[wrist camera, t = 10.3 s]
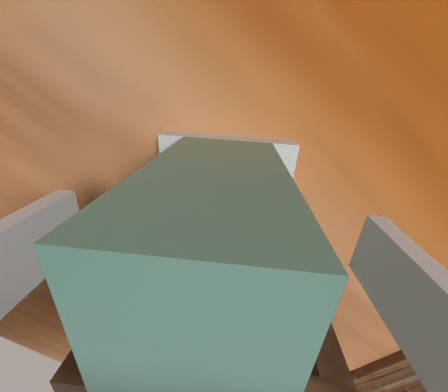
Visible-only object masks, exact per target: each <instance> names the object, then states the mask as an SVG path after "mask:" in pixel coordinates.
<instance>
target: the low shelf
mask: <svg viewBox="0 0 448 392" xmlns="http://www.w3.org/2000/svg"><path fill="white" fill-rule="evenodd" d="M50 384H51V385H52V387H53V390H54V391H55V392H87V390H86V387H85V384H84V382H83V379H82V376H81V374H80V371H79V368H78V365H77V363H76V360H75V357H74V354H73V352H72V350H71V351H70V352H69V354H68V355H67V357H66V358H65V360H64V361H63V363H62V364H61V366H60V367H59V369H58V370H57V372H56V373H55V375H54V376H53V378H52V379H51V381H50ZM304 392H357V389H356V387H355V384H354V382H353V379H352V376H351V374H350V371H349V368H348V366H347V363H346V361H345V358H344V355H343V353H342V350H341V347H340V345H339V342H338V340H337V337H336V334H335V332H334V329H333V326H332V324H331V323H330V326H329V328H328V331H327V334H326V336H325V339H324V341H323V344H322V346H321V349H320V352H319V354H318V357H317V359H316V362H315V364H314V367H313V370H312V372H311V375H310V377H309V380H308V382H307V385H306V387H305V390H304Z"/></svg>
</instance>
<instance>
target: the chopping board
mask: <svg viewBox="0 0 448 392" xmlns="http://www.w3.org/2000/svg"><path fill="white" fill-rule="evenodd" d="M350 374H351V376H352V379H353V382H354V384H355V387H356V389H357V392H427V391H426V390H425V388H424V386H423V385H422V383H421V382H420V380H419V378H418V377H417V375H416V373H415V372H414V370H413V368H412V367H411V365H410V364H409V362H408V360H407V359H406V357H405V355H404V354H403V352H402V351H401V350H400V351H398V352H395V353H393V354H391V355H388V356H386V357H384V358H381V359H379V360H377V361H374V362H372V363H369V364H367V365H365V366H362V367H360V368H358V369H355V370H353V371H350Z"/></svg>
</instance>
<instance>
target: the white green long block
mask: <svg viewBox="0 0 448 392" xmlns="http://www.w3.org/2000/svg"><path fill="white" fill-rule="evenodd" d="M158 143H159V154H158V155H157V156H156V157H154V158H153V159H151V160H150V161H149V162H147V163H146V164H144V165H143V166H141V167H140V168H139V169H137V170H136V171H134V172H133V173H132V174H130V175H129V176H127V177H126V178H125V179H123V180H122V181H120V182H119V183H117V184H116V185H115V186H113V187H112V188H110V189H109V190H108V191H106V192H105V193H103V194H102V195H101V196H99V197H98V198H96V199H95V200H93V201H92V202H91V203H89V204H88V205H86V206H85V207H84V208H82V209H81V210H79V211H78V212H77V213H75V214H74V215H72V216H71V217H69V218H68V219H67V220H65V221H64V222H62V223H61V224H60V225H58V226H57V227H55V228H54V229H53V230H51V231H50V232H48V233H47V234H45V235H44V236H43V237H41V238H40V239H38V240H37V241H36V242H34V243H33V246H34V248H35V251H36V254H37V257H38V259H39V262H40V265H41V267H42V270H43V273H44V276H45V278H46V281H47V284H48V286H49V289H50V292H51V295H52V297H53V300H54V303H55V306H56V308H57V311H58V314H59V316H60V319H61V322H62V325H63V327H64V330H65V333H66V335H67V338H68V341H69V344H70V346H71V349H72V352H73V354H74V357H75V360H76V363H77V365H78V368H79V371H80V374H81V376H82V379H83V382H84V384H85V387H86V390H87V392H304V390H305V387H306V385H307V382H308V380H309V377H310V375H311V372H312V370H313V367H314V364H315V362H316V359H317V357H318V354H319V352H320V349H321V346H322V344H323V341H324V339H325V336H326V334H327V331H328V328H329V326H330V323H331V321H332V318H333V316H334V313H335V311H336V308H337V305H338V303H339V300H340V298H341V295H342V293H343V290H344V287H345V285H346V282H347V280H348V277H349V276H348V274H347V272H346V270H345V269H344V267H343V265H342V263H341V262H340V260H339V258H338V256H337V255H336V253H335V251H334V250H333V248H332V246H331V244H330V243H329V241H328V239H327V237H326V236H325V234H324V232H323V230H322V229H321V227H320V225H319V223H318V222H317V220H316V218H315V216H314V215H313V213H312V211H311V209H310V208H309V206H308V204H307V203H306V201H305V199H304V197H303V196H302V194H301V192H300V190H299V189H298V187H297V185H296V183H295V182H294V180H293V176H294V171H295V166H296V161H297V156H298V151H299V146H300V145H299V144H298V143H297V142H296V141H294V140H293V139H282V138H268V137H255V136H242V135H228V134H215V133H202V132H188V131H175V130H166V131H164V132H162V133H160V134H158Z"/></svg>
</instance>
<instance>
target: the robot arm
mask: <svg viewBox="0 0 448 392" xmlns="http://www.w3.org/2000/svg"><path fill="white" fill-rule="evenodd" d="M78 211H79V207H78V203H77V199H76V195H75V191H73V190H61V189H58V190H56V191H54V192H52V193H50V194H48V195H46V196H44V197H42V198H40V199H38V200H37V201H35V202H33V203H31V204H29V205H27V206H25V207H23V208H21V209H19V210H17V211H15V212H13V213H11V214H9V215H7V216H5V217H3V218H2V219H0V320H1V319H2V318H3V317H4V316H5V315H6V314H7V313H8V312H9V311H11V310H12V309H13V308H14V307H15V306H16V305H17V304H18V303H19V302H20V301H21V300H22V299H23V298H25V297H26V296H27V295H28V294H29V293H30V292H31V291H32V290H33V289H34V288H35V287H36V286H37V285H39V284H40V283H41V282H42V281H43V280H44V279H45V276H44V273H43V270H42V267H41V265H40V262H39V259H38V257H37V254H36V251H35V248H34V246H33V243H34V242H36V241H37V240H38V239H40V238H41V237H43V236H44V235H45V234H47V233H48V232H50V231H51V230H53V229H54V228H55V227H57V226H58V225H60V224H61V223H62V222H64V221H65V220H67V219H68V218H69V217H71V216H72V215H74V214H75V213H77V212H78ZM349 266H350V267H351V269H352V271H353V272H354V274H355V276H356V277H357V279H358V280H359V282H360V284H361V285H362V287H363V289H364V290H365V292H366V294H367V295H368V297H369V298H370V300H371V302H372V303H373V305H374V307H375V308H376V310H377V311H378V313H379V315H380V316H381V318H382V320H383V321H384V323H385V324H386V326H387V328H388V329H389V331H390V333H391V334H392V336H393V338H394V339H395V341H396V342H397V344H398V346H399V347H400V349H401V351H402V352H403V354H404V355H405V357H406V359H407V360H408V362H409V364H410V365H411V367H412V368H413V370H414V372H415V373H416V375H417V377H418V378H419V380H420V382H421V383H422V385H423V386H424V388H425V390H426V391H427V392H448V270H447V269H446V268H444V267H443V266H442V265H441V264H440V263H439V262H437V261H436V260H435V259H434V258H433V257H432V256H431V255H429V254H428V253H427V252H426V251H425V250H424V249H422V248H421V247H420V246H419V245H418V244H417V243H416V242H414V241H413V240H412V239H411V238H410V237H409V236H407V235H406V234H405V233H404V232H403V231H402V230H401V229H399V228H398V227H397V226H396V225H395V224H394V223H392V222H391V221H390V220H389V219H388V218H387V217H383V216H371V215H367V218H366V220H365V223H364V226H363V228H362V231H361V234H360V237H359V239H358V242H357V245H356V247H355V250H354V253H353V255H352V258H351V261H350V264H349Z"/></svg>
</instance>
